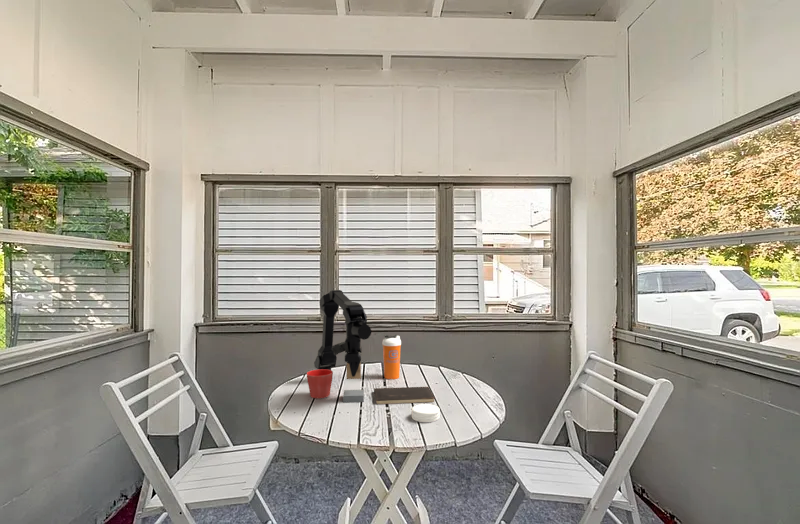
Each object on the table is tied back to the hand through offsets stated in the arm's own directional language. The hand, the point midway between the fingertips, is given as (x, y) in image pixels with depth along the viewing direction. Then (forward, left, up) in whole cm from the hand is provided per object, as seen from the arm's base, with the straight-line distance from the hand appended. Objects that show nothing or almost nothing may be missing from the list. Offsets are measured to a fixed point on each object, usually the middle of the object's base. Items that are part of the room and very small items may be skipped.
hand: (353, 374), depth 180 cm
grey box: (0, 0, -10) cm, 10 cm away
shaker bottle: (-31, +17, -10) cm, 37 cm away
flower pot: (-5, -14, -10) cm, 18 cm away
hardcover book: (-1, +20, -11) cm, 23 cm away
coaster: (+23, +26, -10) cm, 36 cm away
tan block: (0, 0, -1) cm, 1 cm away
